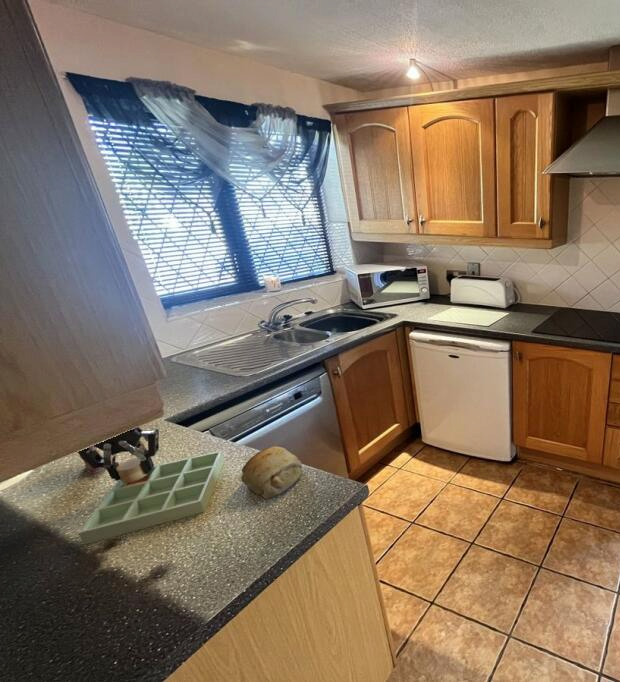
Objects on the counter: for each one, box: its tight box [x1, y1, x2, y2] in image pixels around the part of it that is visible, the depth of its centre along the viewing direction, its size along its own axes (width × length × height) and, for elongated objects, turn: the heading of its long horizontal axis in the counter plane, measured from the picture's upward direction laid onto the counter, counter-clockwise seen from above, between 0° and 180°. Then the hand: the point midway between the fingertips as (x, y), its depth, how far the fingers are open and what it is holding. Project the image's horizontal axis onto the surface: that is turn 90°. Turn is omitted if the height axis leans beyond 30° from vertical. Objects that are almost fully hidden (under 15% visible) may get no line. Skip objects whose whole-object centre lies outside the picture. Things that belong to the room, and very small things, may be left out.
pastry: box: [240, 445, 303, 500], centre depth 92 cm, size 14×12×8 cm
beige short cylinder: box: [116, 457, 147, 483], centre depth 90 cm, size 5×5×4 cm
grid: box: [77, 450, 226, 545], centre depth 88 cm, size 20×20×3 cm
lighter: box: [79, 447, 107, 476], centre depth 97 cm, size 8×3×10 cm, turn 55°
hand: (134, 474), depth 90 cm, fingers open, 4 cm apart
